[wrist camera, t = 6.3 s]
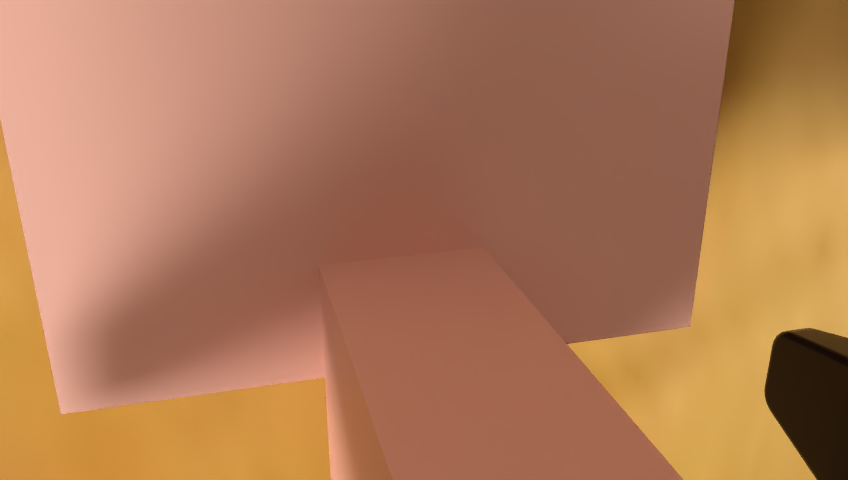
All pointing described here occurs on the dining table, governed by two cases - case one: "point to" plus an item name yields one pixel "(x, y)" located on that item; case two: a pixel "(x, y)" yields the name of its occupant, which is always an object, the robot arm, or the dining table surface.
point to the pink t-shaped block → (368, 211)
